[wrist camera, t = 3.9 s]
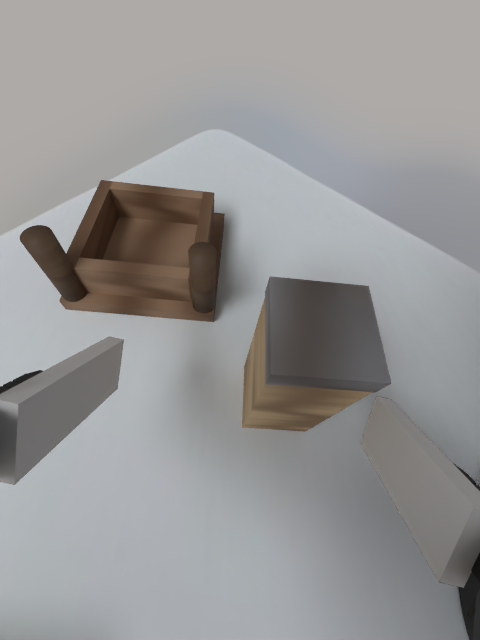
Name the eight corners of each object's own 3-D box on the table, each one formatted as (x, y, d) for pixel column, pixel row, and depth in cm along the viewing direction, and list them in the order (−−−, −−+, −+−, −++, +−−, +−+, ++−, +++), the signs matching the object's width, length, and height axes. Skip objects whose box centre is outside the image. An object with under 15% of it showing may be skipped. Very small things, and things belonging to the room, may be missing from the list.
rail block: (301, 370, 23) (368, 285, 13) (306, 432, 20) (390, 383, 11) (243, 365, 22) (269, 276, 13) (241, 427, 20) (271, 374, 11)
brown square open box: (223, 223, 30) (227, 154, 24) (213, 321, 24) (215, 264, 18) (107, 210, 29) (80, 137, 23) (65, 309, 23) (14, 244, 17)
